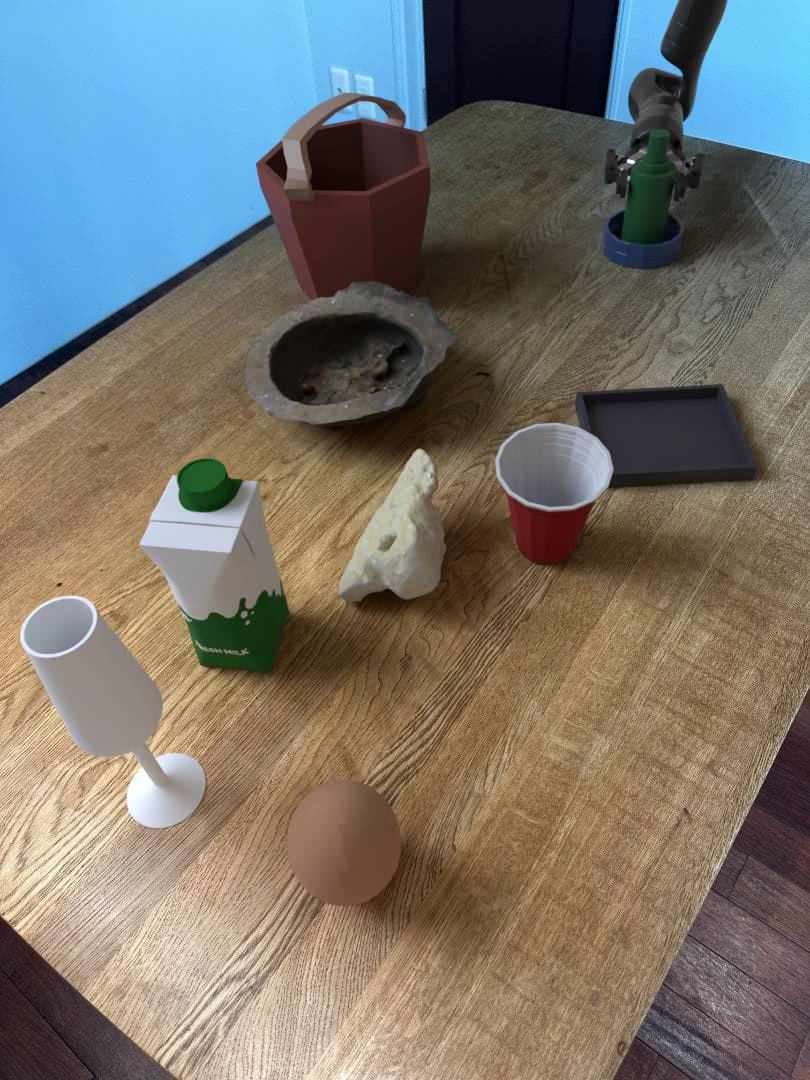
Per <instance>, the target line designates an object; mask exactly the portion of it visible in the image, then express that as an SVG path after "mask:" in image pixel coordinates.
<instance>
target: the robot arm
mask: <svg viewBox="0 0 810 1080" xmlns="http://www.w3.org/2000/svg"><path fill="white" fill-rule="evenodd" d="M727 4H728V0H678V1H677V3H676V5H675V8H674V10H673V12H672V15H671V17H670V20H669V22H668V25H667V27H666V30H665V32H664V34H663V37H662V39H661V43H660V48H659V50H660V54H661V56H662V57H663V59H665V60H666V61H667V62H668V63H670V64H671V65H673V67H675V68H676V69H677V70H679V71H680V73H681V74H682V75H678V74H677V73H672V72H670V71H667V70H664V69H660V68H657V67H647V68H644V69H643V70H640V72H638V73H637V74H636V75H635V77H634V78H633V81H632V82H631V84H630V87H629V91H628V95H627V96H628V98H627V106H628V112H629V115H630V117H631V119H632V120H633V122H634V125H633V127H632V132H631V137H630V141H629V148H628V150H627V151H626V152H625V153H624V154H620V153H619V152H616V149H615V148H608V149H607V150H606V156H605V164H604V184H606V185H612V184H614V183H615V184H616V186H615V194H616V195H619V198H620V199H625V198H626V193H627V188H628V185H629V181H630V174H631V168H632V165H633V163H634V162H636V161H637V160H640V159H641V157H643V156H644V155H647V149H648V142H649V136H650V132H651V131H652V130H655V129H664V130H667V131H669V132H670V139H669V144H668V150H667V155H666V156H668V157H669V158H670V160H671V162H673V163H674V164H675V165H676V166H677V172H676V177H675V182H674V187H673V202H679V201H680V199H684V198H685V196H686V193H687V188H688V187H689V189H691V190H697V189H699V186H700V182H701V178H702V172H703V168H704V165H705V164H704V163H705V159H706V154H705V153H703V152H698V153H696V155H695V156H692V157H686V155H685V153H683V145H684V124H683V123H684V122H685V121H687V119H688V118H689V117H690V115H691V113H692V112H693V109H694V107H695V103H696V96H697V92H698V91H697V90H698V85H699V79H700V75H701V70H702V67H703V64H704V60H705V58H706V55H707V53H708V50H709V48H710V46H711V44H712V42H713V40H714V37H715V35H716V33H717V31H718V28H719V27H720V24H721V22H722V19H723V17H724V15H725V12H726V11H725V10H726V8H727ZM620 165H621V166H620ZM618 167H619V168H618Z"/></svg>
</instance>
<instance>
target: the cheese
mask: <svg viewBox="0 0 810 1080" xmlns="http://www.w3.org/2000/svg"><path fill="white" fill-rule="evenodd" d="M439 481H440V480H439V478H438V464H437V463H436V461H435V457H433V456H432V455H429V454H428V453H427V452H426V451H425V450H424V449H422V448H417V449H416V450H415V451H414V452H413V453H412V455H411V457H410V458H409V459H408V461H406V463H405V466H404V468H403V471H401V473H400V475H399V477H398V479H397V481H396V483H395V484H394V486H393V487H392V489H391V491H389V493H388V495H387V497H386V498H385V500H384V501H383V504H382V505H381V506H379V508H377V510H376V511H375V513H374V514H373V515H372V518H371V520H370V521H369V522H368V525H367V526H366V527H365V530H364V531H363V533H362V535H361V536H360V537H359V539H358V541H357V544H356V546H355V549H354V553H353V555H352V557H351V558H350V561H349V562H348V564H347V567H346V568H345V570H344V572H343V574H342V576H341V578H340V581H339V584H338V596H339V597H340V599H342V600H343V601H345V602H346V603H347V602H349V603H351V602H362V600H363V598H364V597H365V596H367V595H369V594H373V593H381V592H383V591H384V590H390V591H392V592H393V593H395V595H396V596H398V597H399V598H401V599H403V600H412V599H414V598H419V597H422V596H425V595H428V594H429V593H432V592H433V591H434V590H435V589H436V588H437V587H438V585H439V583H440V582H441V566H442V564H443V561H444V555H445V553H446V551H447V548H448V547H447V545H446V543H445V542H444V540H445V537H446V534H445V531H444V528H443V524H442V521H443V520H442V519H443V518H442V517H443V515H442V513H441V511H440V510H439V508H437V506H436V505H434V503H433V501H432V499H433V496H434V494H435V493H436V492H437V490H438V489H439V485H440V483H439Z"/></svg>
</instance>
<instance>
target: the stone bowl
mask: <svg viewBox="0 0 810 1080" xmlns="http://www.w3.org/2000/svg"><path fill="white" fill-rule="evenodd" d="M456 338H457V336H456V335H455V334H454V332H453V331H452V329H450V328H448V326H447V324H446V321H444V320H442V319H440V313H437V312H436V311H435V309H434V308H433V306H432V305H431V302H430V299H429V298H428V297H425V296H420V297H418V296H417V295H408V294H405V293H404V292H403V291H400V292H398V293H397V290H396V289H394V288H392V287H389V286H388V285H387V284H385V285H383V284H382V283H379V282H377V283H376V282H374V281H367V282H352V284H351V285H350V286H349V287H348V288H346V289H345V290H339V291H337V293H336V294H335V296H334V297H328V298H325V297H321V298H317V299H314V300H313V301H311V300H310V301H309V302H308V303H306V304H304V305H302V306H299V307H298V308H296V309H295V310H293V311H291V312H288V313H287V314H284V315H281V316H280V317H279V318H277V320H276V321H274V322H273V323H271V325H270V326H269V327H268V326H267V328H266V329H264V330H263V332H262V333H261V334H260V335H258V336H256V338H255V339H254V340H253V342H252V349H250V352H249V355H248V357H247V360H246V366H245V368H244V374H245V377H244V381H245V389H246V392H247V395H248V397H250V398H251V399H252V401H253V402H256V403H257V404H258V405H259V408H260V409H262V410H263V411H265V412H266V413H268V416H270V417H273V418H275V419H279V420H285V421H301V422H305V423H308V424H311V425H312V426H319V427H338V426H354V425H358V424H365V423H368V422H373V421H375V420H378V419H382V418H383V417H385V416H388V415H390V414H394V413H396V412H398V411H400V410H402V409H403V408H404V407H406V406H408V407H409V406H414V405H420V404H423V403H424V402H425V401H426V399H427V396H428V390H429V379H430V376H431V375H432V374H433V373H434V372H436V370H437V369H438V367H439V366H440V365H442V364H443V362H444V361H445V358H446V353H447V349H448V347H450V346H452V345H454V344H455V343H456V341H455V340H456Z"/></svg>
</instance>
